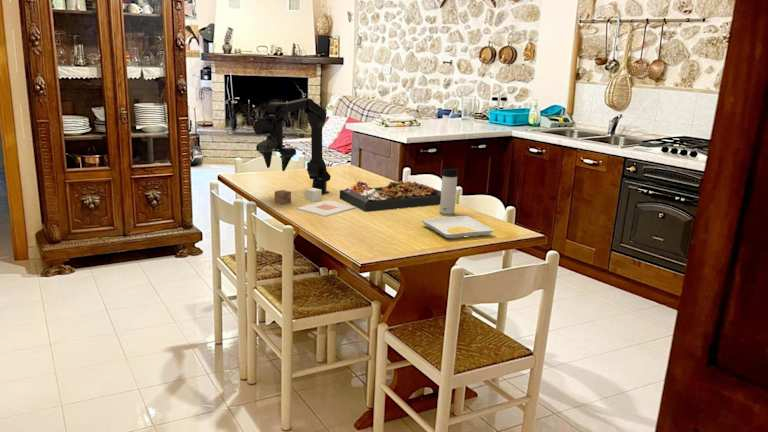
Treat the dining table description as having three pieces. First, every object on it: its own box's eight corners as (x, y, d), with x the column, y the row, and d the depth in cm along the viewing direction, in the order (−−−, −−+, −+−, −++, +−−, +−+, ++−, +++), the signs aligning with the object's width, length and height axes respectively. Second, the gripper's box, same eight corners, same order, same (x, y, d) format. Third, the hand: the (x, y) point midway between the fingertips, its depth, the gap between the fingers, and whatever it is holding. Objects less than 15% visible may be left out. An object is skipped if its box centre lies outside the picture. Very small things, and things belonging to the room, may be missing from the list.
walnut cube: (282, 200, 275) (282, 189, 273) (291, 202, 272) (291, 191, 271) (274, 202, 271) (274, 191, 270) (282, 204, 268) (282, 193, 267)
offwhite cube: (312, 198, 282) (313, 187, 280) (321, 200, 279) (321, 189, 278) (305, 200, 278) (305, 189, 276) (313, 202, 275) (313, 191, 274)
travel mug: (445, 216, 262) (448, 170, 257) (436, 212, 268) (440, 167, 263) (457, 215, 265) (461, 169, 260) (448, 211, 271) (452, 166, 265)
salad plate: (445, 242, 228) (446, 233, 227) (419, 226, 247) (420, 218, 246) (494, 238, 237) (495, 229, 236) (465, 223, 255) (466, 215, 254)
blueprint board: (327, 201, 277) (327, 199, 277) (356, 208, 268) (356, 206, 268) (296, 209, 262) (296, 207, 261) (325, 216, 253) (325, 215, 252)
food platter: (364, 213, 264) (366, 189, 261) (339, 199, 284) (340, 177, 281) (451, 204, 286) (453, 182, 283) (422, 192, 306) (423, 172, 304)
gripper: (246, 131, 262) (246, 168, 266) (277, 137, 251) (277, 175, 255) (266, 129, 270) (266, 165, 275) (297, 135, 260) (296, 171, 264)
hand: (275, 169), depth 267 cm, fingers open, 9 cm apart
